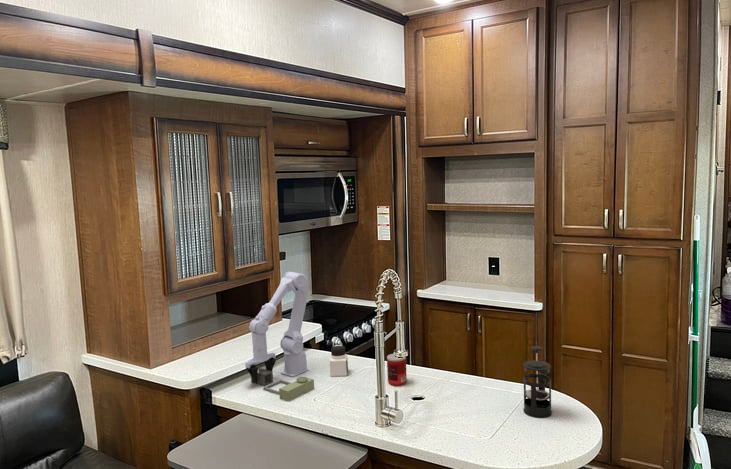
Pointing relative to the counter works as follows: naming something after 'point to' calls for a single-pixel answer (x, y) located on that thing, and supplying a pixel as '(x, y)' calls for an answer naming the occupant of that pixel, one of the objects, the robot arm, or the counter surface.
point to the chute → (264, 377)
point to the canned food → (396, 370)
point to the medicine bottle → (338, 361)
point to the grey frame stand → (292, 388)
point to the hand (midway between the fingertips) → (262, 379)
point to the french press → (537, 395)
